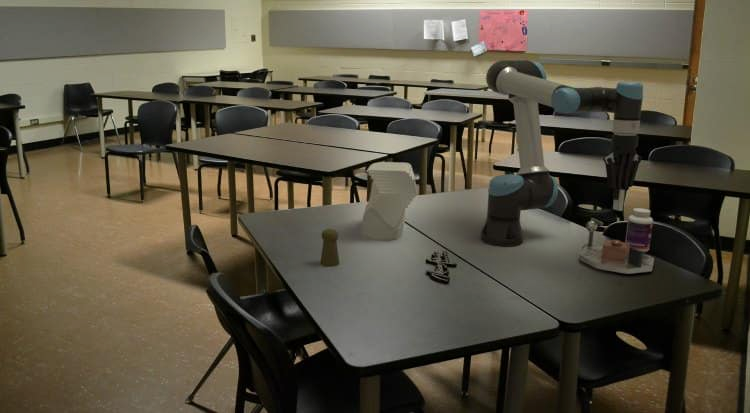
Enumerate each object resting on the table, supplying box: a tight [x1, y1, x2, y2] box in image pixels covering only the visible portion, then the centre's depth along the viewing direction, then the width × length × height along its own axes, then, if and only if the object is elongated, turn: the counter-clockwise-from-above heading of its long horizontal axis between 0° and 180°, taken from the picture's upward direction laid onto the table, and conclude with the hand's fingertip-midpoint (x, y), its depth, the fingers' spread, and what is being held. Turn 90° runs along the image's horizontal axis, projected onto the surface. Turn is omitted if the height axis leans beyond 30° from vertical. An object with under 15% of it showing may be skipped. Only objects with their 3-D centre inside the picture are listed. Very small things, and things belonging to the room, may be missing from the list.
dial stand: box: [581, 217, 604, 250], centre depth 217 cm, size 6×6×11 cm
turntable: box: [578, 244, 655, 275], centre depth 204 cm, size 22×22×7 cm
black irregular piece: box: [425, 250, 458, 285], centre depth 197 cm, size 27×2×10 cm
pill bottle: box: [624, 207, 654, 253], centre depth 219 cm, size 8×8×14 cm
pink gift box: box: [601, 239, 630, 261], centre depth 205 cm, size 7×7×5 cm
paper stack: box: [362, 161, 419, 241], centre depth 229 cm, size 21×27×26 cm
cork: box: [319, 228, 340, 268], centre depth 198 cm, size 6×6×11 cm
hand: (617, 209), depth 196 cm, fingers closed
